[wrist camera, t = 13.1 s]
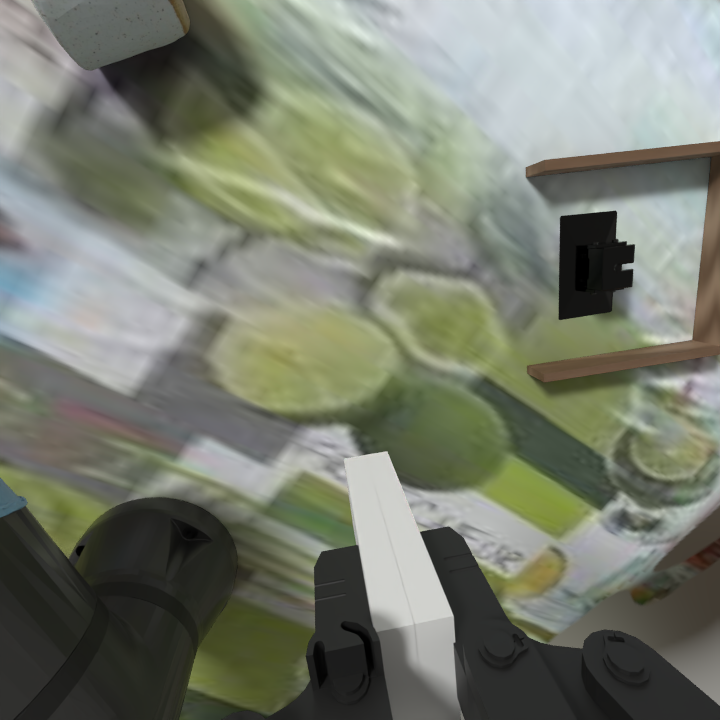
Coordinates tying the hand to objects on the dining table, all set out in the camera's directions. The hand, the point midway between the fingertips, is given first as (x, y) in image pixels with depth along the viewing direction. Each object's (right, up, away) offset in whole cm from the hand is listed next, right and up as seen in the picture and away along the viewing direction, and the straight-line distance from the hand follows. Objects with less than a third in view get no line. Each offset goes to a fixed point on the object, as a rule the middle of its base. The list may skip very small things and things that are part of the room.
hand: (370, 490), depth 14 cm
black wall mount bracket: (+21, +14, +25) cm, 36 cm away
